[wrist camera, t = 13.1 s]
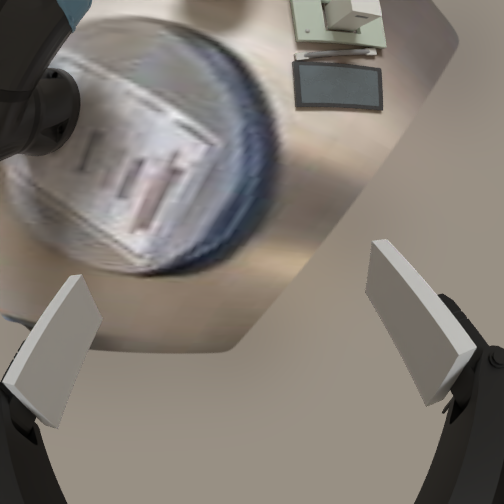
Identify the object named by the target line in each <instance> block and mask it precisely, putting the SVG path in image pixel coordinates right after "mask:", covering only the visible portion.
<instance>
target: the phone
mask: <svg viewBox="0 0 504 504" xmlns="http://www.w3.org/2000/svg"><path fill="white" fill-rule="evenodd" d="M292 66H293V78H294V91H295V106H296V107H344V108H361V109H374V110H383V91H382V73H381V69H380V68H374V67H367V66H359V65H349V64H339V63H325V62H297V61H293V62H292Z"/></svg>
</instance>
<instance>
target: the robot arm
mask: <svg viewBox="0 0 504 504" xmlns="http://www.w3.org/2000/svg"><path fill="white" fill-rule="evenodd" d="M91 4H92V0H0V161H1V160H4V159H6V158H8V157H11V156H13V155H15V154H25V155H31V156H41V155H45V154H48V153H50V152H53V151H55V150H57V149H58V148H60V147H61V146H62V145H63V144H64V143H65V142H66V141H67V140H68V138H69V137H70V135H71V134H72V132H73V130H74V128H75V125H76V122H77V119H78V115H79V109H80V96H79V91H78V87H77V84H76V82H75V80H74V79H73V77H72V76H71V75H70V74H69V73H67V72H66V71H64V70H61V69H56V68H47V67H48V66H49V64H50V63H51V61H52V60H53V58H54V57H55V55H56V54H57V52H58V51H59V49H60V48H61V46H62V45H63V44H64V42H65V41H66V39H67V38H68V37H69V35H70V34H71V33H73V32H74V31H75V29H76V26H77V24H78V23H79V22H80V20H81V19H82V18H83V16H84V15H85V14H86V12H87V11H88V10H89V8H90V7H91ZM365 293H366V294H367V296H368V298H369V299H370V301H371V303H372V304H373V306H374V308H375V310H376V312H377V313H378V315H379V317H380V319H381V320H382V322H383V324H384V325H385V327H386V329H387V331H388V333H389V335H390V336H391V338H392V340H393V342H394V344H395V346H396V347H397V349H398V351H399V353H400V355H401V357H402V359H403V361H404V363H405V365H406V367H407V369H408V370H409V373H410V374H411V376H412V378H413V380H414V383H415V385H416V387H417V389H418V391H419V393H420V395H421V397H422V399H423V401H424V403H425V406H426V407H427V406H429V405H431V404H434V403H436V402H439V401H441V400H443V399H444V398H445V396H446V395H447V393H448V392H449V391H450V390H451V392H452V394H453V397H452V399H451V400H450V401H449V403H448V404H447V405H446V406H445V408H444V409H443V411H442V413H443V414H444V413H445V412H446V411H447V410H448V413H447V417H446V421H445V425H444V428H443V431H442V434H441V438H440V441H439V444H438V447H437V450H436V453H435V456H434V458H433V461H432V464H431V466H430V469H429V472H428V474H427V476H426V479H425V481H424V483H423V486H422V488H421V490H420V492H419V494H418V497H417V499H416V501H415V503H414V504H504V349H503V348H501V347H499V346H489V345H488V344H487V343H486V341H485V340H484V339H483V337H482V336H481V335H480V334H479V332H478V331H477V329H476V328H475V327H474V325H473V324H472V323H471V322H470V320H469V319H467V317H466V315H465V314H464V313H463V312H461V309H460V308H459V307H458V306H457V304H456V303H455V302H454V301H453V300H452V299H450V298H449V297H447V296H446V295H444V294H439V295H437V294H436V293H435V292H434V291H433V290H432V288H431V287H430V286H429V285H428V284H427V282H426V281H425V280H424V279H423V278H422V277H421V276H420V274H419V273H418V272H417V271H416V270H415V269H414V268H413V267H412V266H411V264H410V263H409V262H408V261H407V260H406V259H405V258H404V257H403V256H402V254H401V253H399V251H398V250H397V249H396V248H395V247H394V246H393V245H392V244H391V243H390V242H389V241H388V240H387V239H384V240H376V241H372V244H371V253H370V262H369V269H368V277H367V283H366V290H365ZM102 320H103V318H102V316H101V314H100V312H99V310H98V308H97V306H96V304H95V302H94V300H93V298H92V296H91V293H90V291H89V289H88V287H87V285H86V282H85V280H84V278H83V275H82V274H80V275H71V276H70V277H69V278H68V279H67V281H66V282H65V283H64V285H63V286H62V287H61V289H60V290H59V291H58V293H57V294H56V295H55V297H54V298H53V300H52V301H51V302H50V304H49V305H48V307H47V308H46V310H45V311H44V313H43V314H42V316H41V317H40V318H39V320H38V322H37V323H36V325H35V326H34V328H33V329H32V331H31V332H30V334H29V336H28V337H27V339H26V340H25V341H23V343H22V344H21V346H20V348H19V349H18V353H16V355H15V356H14V360H12V362H11V363H10V365H9V367H8V369H7V371H6V372H5V374H4V376H3V378H2V380H1V382H0V504H67V502H66V500H65V497H64V495H63V493H62V491H61V489H60V486H59V484H58V481H57V479H56V477H55V474H54V472H53V469H52V467H51V464H50V461H49V458H48V455H47V452H46V449H45V446H44V443H43V440H42V436H41V433H40V429H39V427H38V425H37V424H36V423H35V422H34V421H35V419H36V417H37V418H38V419H39V420H40V421H41V422H42V423H43V424H44V425H46V426H50V427H53V428H57V429H58V427H59V424H60V421H61V418H62V415H63V412H64V409H65V407H66V404H67V401H68V399H69V396H70V393H71V390H72V388H73V386H74V383H75V381H76V378H77V375H78V373H79V371H80V368H81V366H82V364H83V361H84V359H85V357H86V354H87V352H88V350H89V348H90V346H91V343H92V341H93V339H94V337H95V335H96V333H97V330H98V328H99V326H100V324H101V322H102ZM448 408H449V409H448Z"/></svg>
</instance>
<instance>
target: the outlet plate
mask: <svg viewBox="0 0 504 504" xmlns="http://www.w3.org/2000/svg"><path fill="white" fill-rule="evenodd" d="M330 1H331V0H290V3H291V10H292V16H293V23H294V30H295V38H296V42H320V43H337V44H348V45H357V46H366V47H373V48H379V49H384V48H386V40H385V34H384V28H383V22H382V16H381V17H379V18H377V19H375V20H373V21H371V22H369V23H367V24H365V25H363V26H361V27H360V28H358V29H356V32H357V34H355V33H347V32H337V31H326V30H325V23H324V17H323V11H322V5H321V3H327V4H328V3H329V2H330Z"/></svg>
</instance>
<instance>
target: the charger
mask: <svg viewBox="0 0 504 504" xmlns="http://www.w3.org/2000/svg"><path fill="white" fill-rule="evenodd" d="M324 9H325V15H326V22H327V28H328V29H332V30H343V31H354V30H356V29H358V28H360V27H361V26H363V25H365V24H367V23H369V22H371V21H373V20H375V19H377V18H379V17H381V16H382V13H381V8H380V3H379V0H331V1H330V2H329V3H328V4H327V5H326V6H325V7H324Z"/></svg>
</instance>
